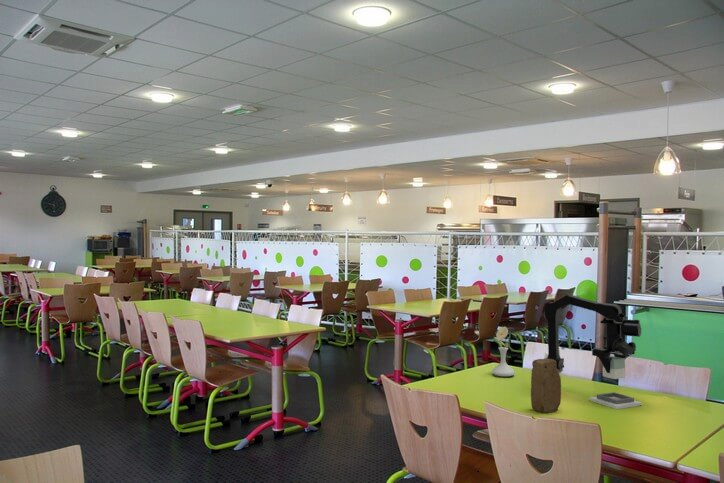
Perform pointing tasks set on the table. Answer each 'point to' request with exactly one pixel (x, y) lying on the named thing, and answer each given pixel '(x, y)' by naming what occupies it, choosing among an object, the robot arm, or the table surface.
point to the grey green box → (615, 368)
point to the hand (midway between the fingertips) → (613, 372)
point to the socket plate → (615, 400)
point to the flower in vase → (503, 356)
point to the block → (545, 386)
